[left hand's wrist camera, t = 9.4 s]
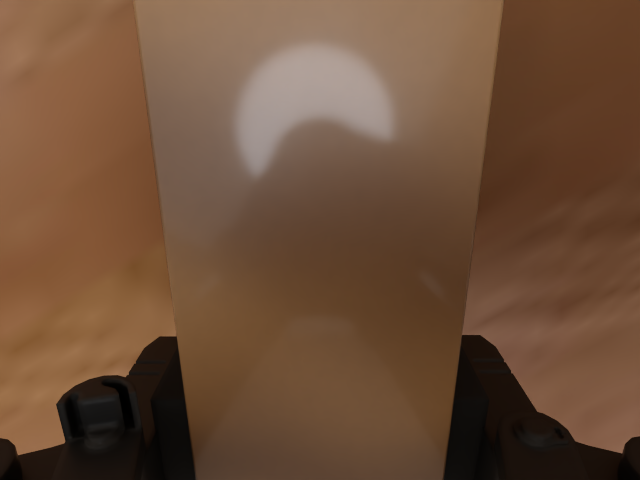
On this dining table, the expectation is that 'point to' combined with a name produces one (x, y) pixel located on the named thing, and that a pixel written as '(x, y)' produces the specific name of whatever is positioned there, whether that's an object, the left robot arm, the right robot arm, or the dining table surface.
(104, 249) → the dining table surface
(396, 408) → the bar
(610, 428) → the dining table surface
